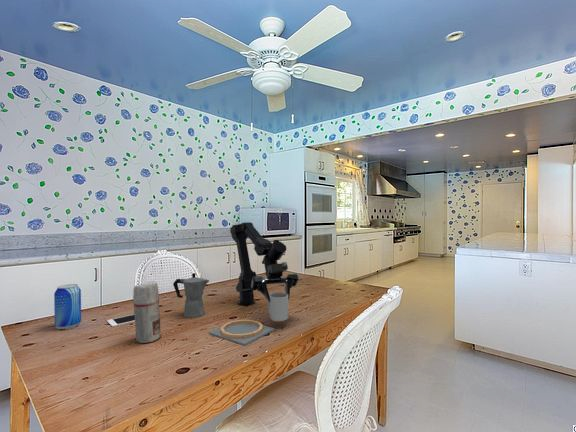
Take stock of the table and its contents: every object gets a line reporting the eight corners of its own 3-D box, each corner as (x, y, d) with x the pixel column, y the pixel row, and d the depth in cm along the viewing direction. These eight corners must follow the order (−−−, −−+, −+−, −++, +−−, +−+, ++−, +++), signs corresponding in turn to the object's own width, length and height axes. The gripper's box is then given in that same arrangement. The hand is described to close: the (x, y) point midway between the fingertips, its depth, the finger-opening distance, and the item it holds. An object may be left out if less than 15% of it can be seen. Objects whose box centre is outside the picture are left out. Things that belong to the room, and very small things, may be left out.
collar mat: (208, 333, 109) (208, 328, 109) (239, 320, 122) (239, 316, 122) (244, 345, 99) (244, 340, 98) (274, 330, 112) (274, 325, 112)
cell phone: (159, 317, 129) (159, 314, 129) (112, 328, 116) (112, 325, 116) (152, 312, 135) (152, 310, 135) (106, 322, 123) (106, 320, 123)
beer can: (86, 323, 120) (85, 284, 120) (64, 331, 112) (64, 289, 112) (71, 321, 123) (71, 282, 123) (49, 329, 115) (48, 287, 115)
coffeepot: (211, 310, 135) (211, 270, 135) (206, 317, 126) (206, 275, 126) (177, 311, 135) (176, 271, 135) (169, 318, 125) (169, 275, 125)
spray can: (143, 346, 99) (142, 285, 99) (129, 341, 103) (128, 283, 103) (166, 337, 106) (165, 281, 106) (151, 332, 110) (151, 278, 110)
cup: (278, 322, 111) (278, 299, 111) (261, 316, 118) (260, 293, 118) (292, 317, 116) (292, 295, 116) (274, 311, 123) (274, 290, 123)
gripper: (252, 256, 117) (258, 291, 107) (297, 254, 123) (307, 287, 113) (248, 272, 125) (254, 306, 115) (291, 269, 131) (299, 302, 121)
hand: (279, 300), depth 116 cm, fingers closed on cup, 7 cm apart
